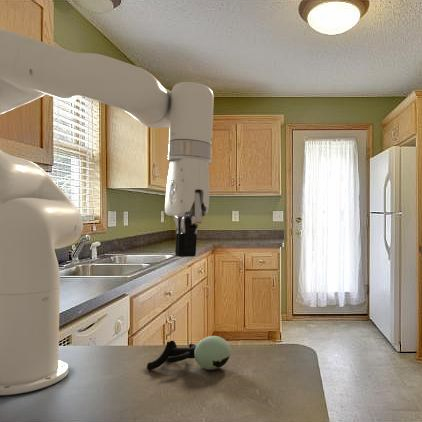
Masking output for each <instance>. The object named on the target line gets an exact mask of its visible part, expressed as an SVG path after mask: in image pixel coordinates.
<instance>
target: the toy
mask: <svg viewBox="0 0 422 422" xmlns="http://www.w3.org/2000/svg"><path fill="white" fill-rule="evenodd" d="M230 357H231V347H230V344H229V343H228V341H227V340H225V338H223V337H221V336H218V335H209V336H206V337H204V338H202V339H200V340H199V342H197V344H195V343H189V344H188V347H177V344H176V342H175V340H169V341H166V344H165V347H164V349H163V351H162V353H161V354H160V356H159V357H158V358H156V359H154V360H153V361H149V362H148V363H147V364H146V369H147V370H148V371H151V370H155V369H157V368H159V367H161V366H162V365H163V364H164V363H165V362H167V364H170V363H171V364H172V363H177V362H182V361H184V360H187V359H194V360H195V362H196V363H197V365H198V366H200V367H201V368H203V369H205V370H210V371H211V370H217V369H221V368H222V367H223V366H225V365H226V364H227V362H228V361H229V359H230Z"/></svg>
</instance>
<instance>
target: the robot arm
mask: <svg viewBox="0 0 422 422" xmlns="http://www.w3.org/2000/svg"><path fill="white" fill-rule="evenodd" d="M46 95H48V96H50V97H54V98H57V99H60V100H64V101H65V102H72V101H76V100H78V99H80V98H84V99H89V100H92V101H95V102H98V103H101V104H104V105H108V106H110V107H113V108H116V109H119V110H122V111H124V112H125V113H126V114H128V115H130V116H131V117H132V118H134V119H135V120H137V122H139V124H141V125H143V126H145V127H147V128H151V129H165V128H168V129H169V130H168V150H167V151H168V153H167V154H168V155H167V161H168V162H170V163H169V168H168V174H167V181H166V191H165V200H164V213H165V215H167V216H169V217H173V221H174V223H175V248H174V249H175V251H174V253H175V256H176V257H179V258H189V257H190V258H191V257H192V258H193V257H196V255H197V235H198V232H199V231H198V230H199V225H201V224H202V223H203V217H205V216H206V215H207V214H208V213H209V206H210V166H209V165H212V150H213V149H212V147H213V146H212V145H213V123H214V122H213V121H214V103H215V101H214V99H215V95H214V93H213V90H212V89H211V88H210V87H209V86H207V85H206V84H203V83H200V82H194V81H182V82H181V81H180V82H178V83H176V84H174V85H173V86H172V89H171V90H170V89H168V88H167V87H164V85H162V84H161V82H160V81H159V80H158V78H156V77H155V76H154V75H153V74H152V73H151V72H149V71H148V70H146V69H144V68H142V67H139V66H137V65H135V64H131V63H129V62H125V61H123V60H120V59H117V58H114V57H111V56H107V55H104V54H100V53H95V52H92V53H91V52H74V51H72V50H68V49H65V48H62V47H59V46H56V45H53V44H51V43H47V42H44V41H41V40H38V39H35V38H33V37H29V36H27V35H23V34H20V33H18V32H17V33H16V32H15V31H11V30H7V29H0V115H2V114H5V113H7V112H10V111H12V110H14V109H17V108H19V107H22V106H24V105H27V104H30V103H32V102H33V101H36V100H38V99H40V98H42V97H44V96H46ZM83 219H84V218H83V217H82V214H81V212H80V210H79V208H78V207H77V206H76V205H75V204H74V203H73V201H72V200H71V199H70V198H69V197H68V196H67V194H66V193H65V192H64V191H63V190H62V188H61V187H60V186H59V185H58V184H57V182H55V180H54V179H53V178H52V177H51V176H50V175H49V174H48V172H46V171H45V169H43V168H42V167H41V166H39V164H37V163H34V162H33V161H31V160H28V159H25V158H22V157H18V156H14V155H11V154H8V153H7V152H4V151H3V150H2V149H0V396H12V395H13V396H14V395H20V394H24V393H30V392H34V391H37V390H41V389H44V388H47V387H50V386H52V385H54V384H56V383H58V382H60V381H62V380H63V379H64V378H65V377H67V375H68V373H69V365H68V363H67V362H64V361H62V360H59V356H60V355H59V352H60V350H59V349H60V348H59V347H60V304H61V303H60V300H61V297H60V296H61V273H60V264H59V262H58V258H57V255H56V254H57V253H56V251H55V250H57V249H63V248H66V247H69V246H71V245H73V244H75V243H76V242H77V241H78V240H79V239H80V238H81V235H82V233H83V230H84V220H83Z"/></svg>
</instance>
